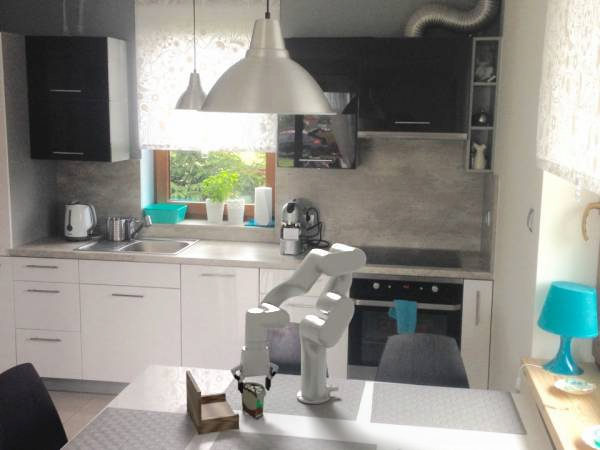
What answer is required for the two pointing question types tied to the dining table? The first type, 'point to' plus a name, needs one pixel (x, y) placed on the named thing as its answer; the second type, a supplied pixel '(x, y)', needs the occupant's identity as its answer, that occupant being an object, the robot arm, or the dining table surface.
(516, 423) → the dining table surface
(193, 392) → the low wooden shelf
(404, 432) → the dining table surface
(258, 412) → the food container
